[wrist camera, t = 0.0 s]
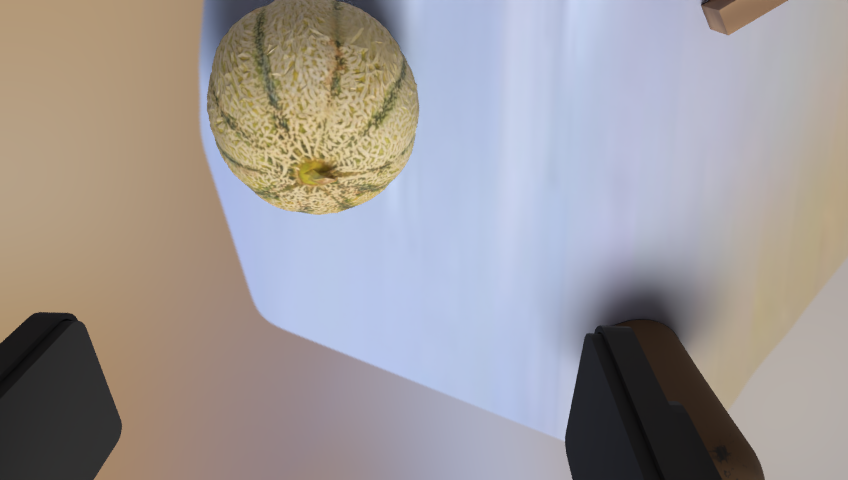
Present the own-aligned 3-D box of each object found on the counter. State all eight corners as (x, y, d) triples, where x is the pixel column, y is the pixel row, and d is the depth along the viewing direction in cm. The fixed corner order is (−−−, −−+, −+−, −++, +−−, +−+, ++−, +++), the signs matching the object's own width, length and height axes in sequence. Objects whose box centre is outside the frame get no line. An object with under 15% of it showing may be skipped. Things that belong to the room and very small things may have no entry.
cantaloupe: (289, -55, 40) (214, -50, 27) (457, 53, 43) (464, 104, 30) (218, 114, 46) (130, 185, 33) (370, 197, 50) (344, 290, 36)
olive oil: (569, 333, 57) (650, 582, 35) (671, 299, 54) (827, 544, 32) (599, 401, 61) (687, 658, 39) (694, 372, 59) (844, 629, 37)
